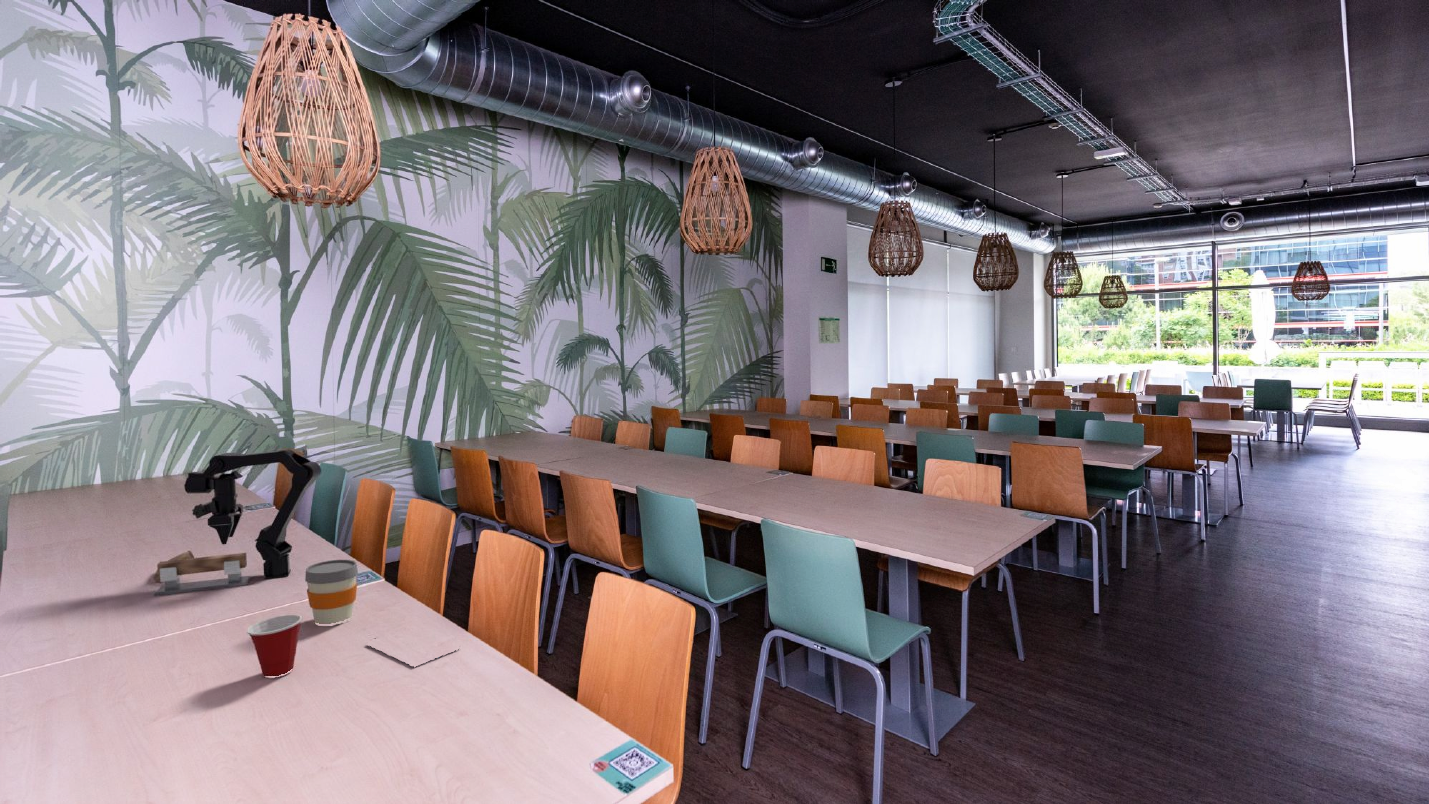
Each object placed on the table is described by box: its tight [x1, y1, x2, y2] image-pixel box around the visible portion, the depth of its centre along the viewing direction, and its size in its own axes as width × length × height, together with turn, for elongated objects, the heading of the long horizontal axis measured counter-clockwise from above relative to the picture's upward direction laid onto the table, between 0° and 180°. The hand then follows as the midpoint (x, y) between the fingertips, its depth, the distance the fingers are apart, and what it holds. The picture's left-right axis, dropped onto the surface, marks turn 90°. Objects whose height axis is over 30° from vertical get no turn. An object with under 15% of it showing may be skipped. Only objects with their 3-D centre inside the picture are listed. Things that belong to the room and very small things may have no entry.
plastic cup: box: [245, 613, 303, 677], centre depth 159 cm, size 11×11×12 cm
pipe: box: [152, 550, 195, 583], centre depth 228 cm, size 6×17×10 cm
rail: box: [156, 552, 248, 578], centre depth 216 cm, size 22×3×4 cm, turn 116°
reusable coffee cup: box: [304, 559, 359, 624], centre depth 190 cm, size 12×13×15 cm
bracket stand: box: [154, 560, 252, 597], centre depth 216 cm, size 23×7×8 cm, turn 114°
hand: (227, 540), depth 225 cm, fingers open, 9 cm apart
